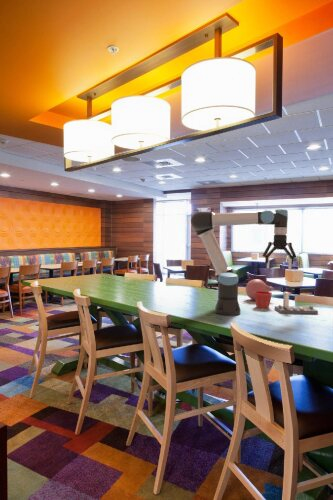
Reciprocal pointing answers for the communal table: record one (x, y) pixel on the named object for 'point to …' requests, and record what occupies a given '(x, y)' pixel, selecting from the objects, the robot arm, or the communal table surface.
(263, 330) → the communal table surface
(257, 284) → the balloon
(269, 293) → the flower pot
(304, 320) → the communal table surface
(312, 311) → the console
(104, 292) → the communal table surface
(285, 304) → the fader tab
